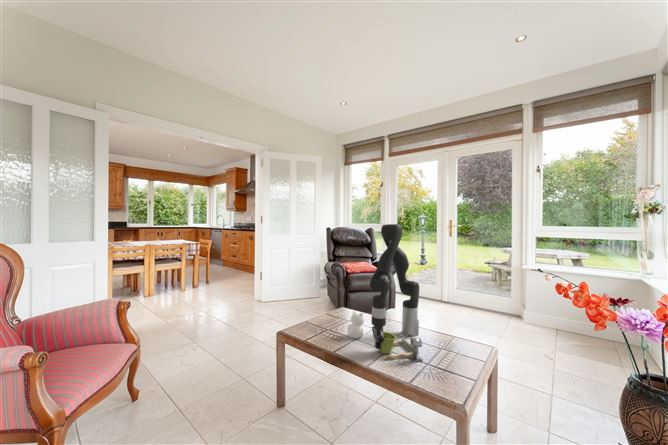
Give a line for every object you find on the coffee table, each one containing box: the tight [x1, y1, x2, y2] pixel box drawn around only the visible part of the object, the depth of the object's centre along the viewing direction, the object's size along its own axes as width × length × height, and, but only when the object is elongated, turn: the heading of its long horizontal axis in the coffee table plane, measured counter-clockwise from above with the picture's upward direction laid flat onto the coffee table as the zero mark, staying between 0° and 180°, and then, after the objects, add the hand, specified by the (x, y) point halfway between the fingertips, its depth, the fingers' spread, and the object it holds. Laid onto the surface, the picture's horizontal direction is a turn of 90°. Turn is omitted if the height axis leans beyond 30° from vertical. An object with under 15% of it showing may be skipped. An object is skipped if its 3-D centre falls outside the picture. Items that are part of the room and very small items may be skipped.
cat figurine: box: [347, 310, 365, 340], centre depth 160 cm, size 9×12×15 cm
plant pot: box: [378, 331, 397, 355], centre depth 142 cm, size 9×9×9 cm
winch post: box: [407, 335, 424, 363], centre depth 135 cm, size 7×5×13 cm
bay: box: [385, 338, 419, 361], centre depth 143 cm, size 18×15×3 cm
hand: (377, 348), depth 141 cm, fingers closed
